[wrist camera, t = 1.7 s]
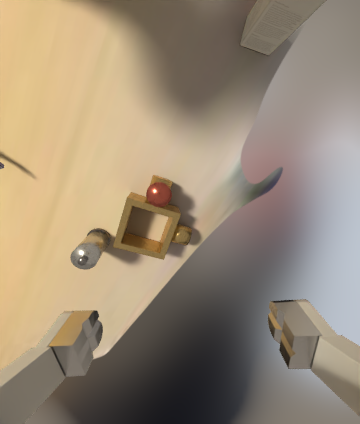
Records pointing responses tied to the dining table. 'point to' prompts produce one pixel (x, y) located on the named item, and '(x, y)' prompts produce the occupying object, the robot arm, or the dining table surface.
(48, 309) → the dining table surface
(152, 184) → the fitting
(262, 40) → the skincare box
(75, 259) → the cylinder
